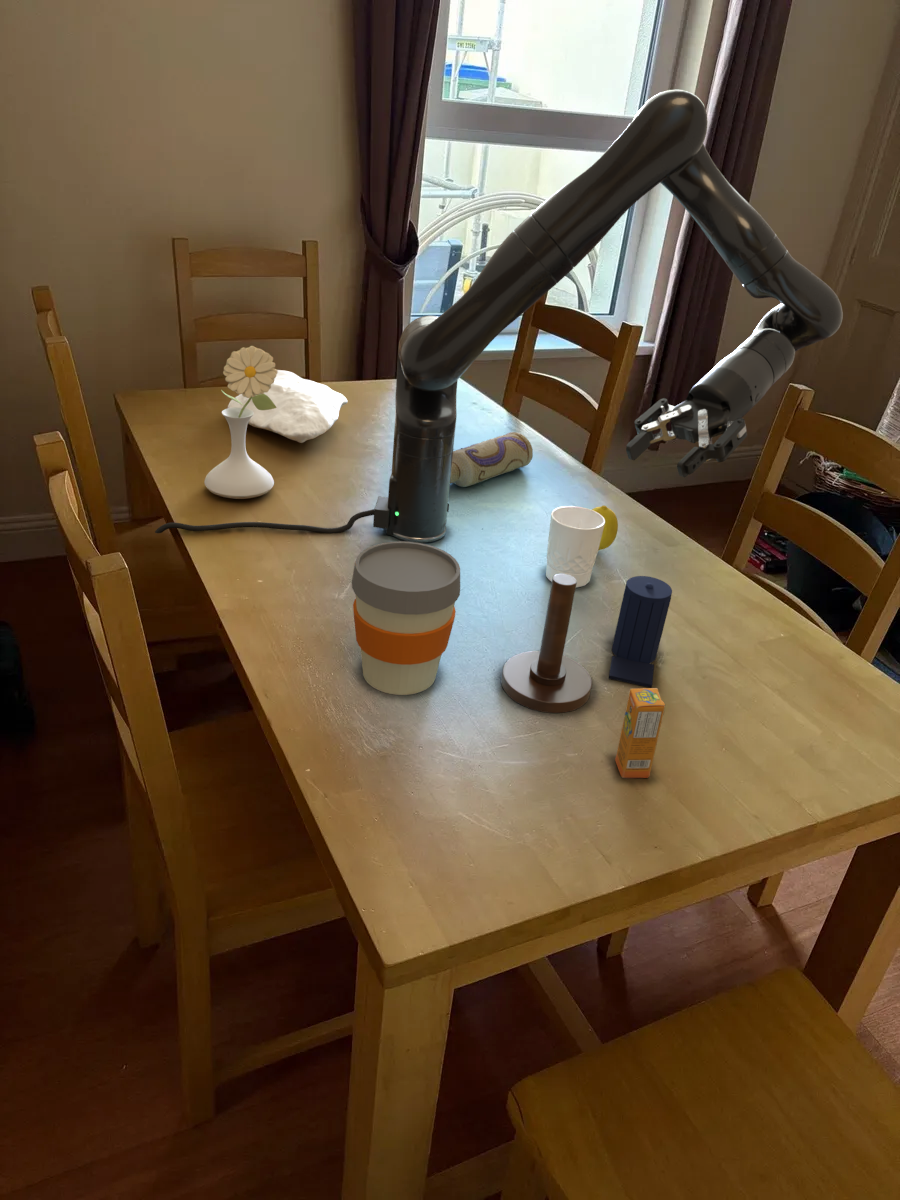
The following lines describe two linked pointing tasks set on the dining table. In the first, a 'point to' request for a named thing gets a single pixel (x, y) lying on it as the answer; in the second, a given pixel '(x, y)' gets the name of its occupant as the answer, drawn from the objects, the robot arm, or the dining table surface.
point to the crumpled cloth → (296, 407)
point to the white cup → (573, 542)
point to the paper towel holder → (550, 661)
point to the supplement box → (639, 733)
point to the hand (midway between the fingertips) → (654, 463)
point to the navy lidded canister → (639, 630)
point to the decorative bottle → (490, 459)
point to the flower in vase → (244, 426)
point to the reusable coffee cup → (403, 613)
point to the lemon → (607, 526)
